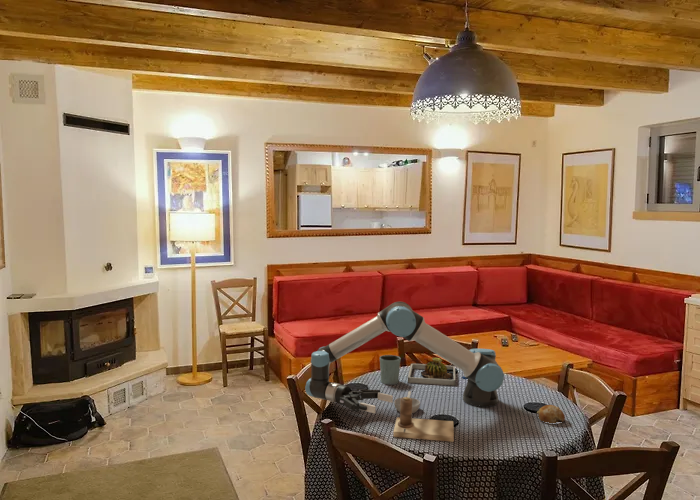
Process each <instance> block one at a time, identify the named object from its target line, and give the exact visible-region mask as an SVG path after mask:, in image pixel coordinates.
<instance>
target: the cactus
mask: <svg viewBox="0 0 700 500" xmlns="http://www.w3.org/2000/svg"><path fill="white" fill-rule="evenodd" d="M442 359H443V358H441V357H440V358H439V357H432V358H431V361H429V362H427V363H425V364H426V366H425V369H424V370H423V371H420V374H421V375H422V376H423V377H424V378H431V379H447V380H453V372H450V373H447V372H448V371H447V368H446V366H447V365H445V364H444V363H442V362H443V360H442ZM448 378H449V379H448Z"/></svg>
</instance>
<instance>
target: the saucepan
mask: <svg viewBox="0 0 700 500" xmlns="http://www.w3.org/2000/svg"><path fill="white" fill-rule="evenodd" d="M411 394H412V390H411V391H410V390H408V392H407V396H406V397H409V398H411V399H412V414H414V413H415V414H416V412H418V410H419V408H420V406H421V401H420V399H416V398H413V397H411ZM404 397H405V396H404ZM404 397H398V398H396V399H394V402H393V403H394V407H395V410H396V411H397V412H399V413H400V403H401V398H404Z"/></svg>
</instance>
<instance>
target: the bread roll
mask: <svg viewBox="0 0 700 500" xmlns="http://www.w3.org/2000/svg"><path fill="white" fill-rule="evenodd" d="M536 414H537V415H538V416H537V417H539V418H538V420H539V419H540V420H541V421H540V420H539V421H540V422H542V421H544V422H549V423H556V422H563V421H564V422H565V420H566V416H565V413H564V412H563V410H562V409H560V407H559V406H556V405H553V404H547V405H543V406H541V407H540V408H539V410H537V412H536ZM544 422H543V423H544ZM564 422H563V423H564Z"/></svg>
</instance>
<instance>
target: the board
mask: <svg viewBox="0 0 700 500" xmlns="http://www.w3.org/2000/svg"><path fill="white" fill-rule="evenodd" d="M399 421H400V416H398V417H396V420H395V424H394V429H393V438H404V439H416V440H417V439H418V440H428V441H429V440H430V441H440V442H442V441H443V442H450V443H451V442H454V437H455V432H454V430H455V429H454V421H453V420H442V419H441V420H438V419H429V418H427V419H425V418H415V417H414V418H413V417H412V422H413V423H414V426H413V427H411V428H402V427H400V426H398V422H399Z"/></svg>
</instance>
